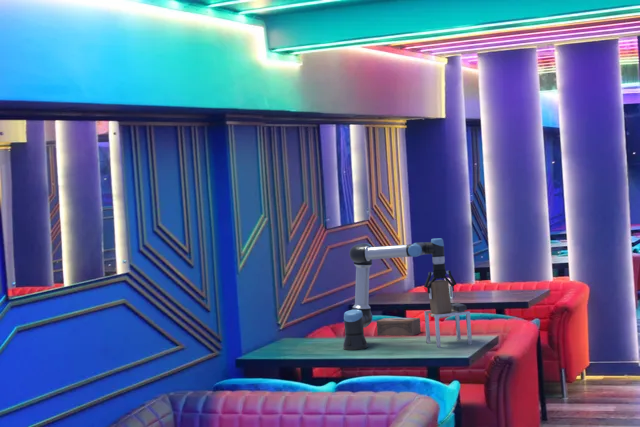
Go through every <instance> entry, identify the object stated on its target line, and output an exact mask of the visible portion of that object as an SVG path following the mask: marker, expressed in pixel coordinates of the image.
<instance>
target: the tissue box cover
mask: <svg viewBox="0 0 640 427" xmlns="http://www.w3.org/2000/svg"><path fill="white" fill-rule="evenodd" d="M421 328H422V327H421V318H420V317H388V318H387V317H384V318H381V319H378V320H376V334H377V336H381V337H382V336H384V337H385V336H389V337H390V336H396V337H397V336H399V337H400V336H401V337H402V336H403V337H404V336H405V337H406V336H408V337H409V336H411V337H412V336H416V335H417V334H420V333H421V332H422V330H421Z"/></svg>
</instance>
